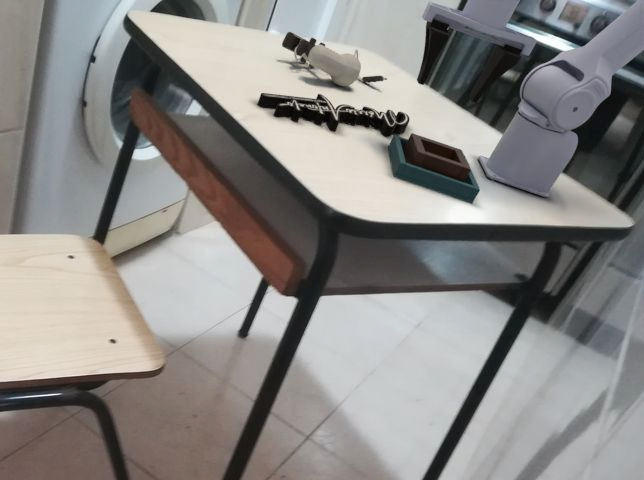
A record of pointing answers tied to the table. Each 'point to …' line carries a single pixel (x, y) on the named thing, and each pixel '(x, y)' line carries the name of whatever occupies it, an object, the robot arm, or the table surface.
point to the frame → (436, 157)
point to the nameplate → (333, 113)
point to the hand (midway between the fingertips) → (446, 91)
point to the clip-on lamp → (327, 60)
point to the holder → (429, 175)
